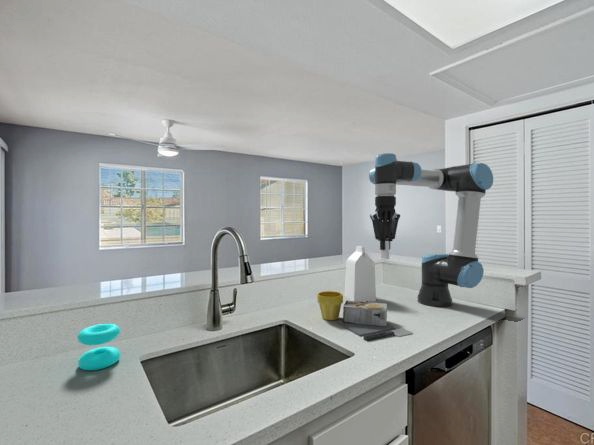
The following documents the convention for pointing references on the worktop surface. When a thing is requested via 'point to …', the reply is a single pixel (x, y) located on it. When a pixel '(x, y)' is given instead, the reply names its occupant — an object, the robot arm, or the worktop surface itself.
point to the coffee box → (365, 313)
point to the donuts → (100, 355)
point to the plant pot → (330, 304)
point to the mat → (365, 328)
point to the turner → (388, 334)
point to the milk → (360, 277)
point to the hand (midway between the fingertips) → (385, 258)
